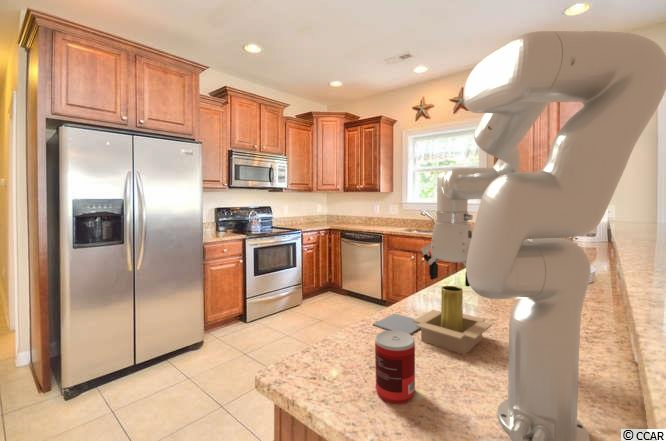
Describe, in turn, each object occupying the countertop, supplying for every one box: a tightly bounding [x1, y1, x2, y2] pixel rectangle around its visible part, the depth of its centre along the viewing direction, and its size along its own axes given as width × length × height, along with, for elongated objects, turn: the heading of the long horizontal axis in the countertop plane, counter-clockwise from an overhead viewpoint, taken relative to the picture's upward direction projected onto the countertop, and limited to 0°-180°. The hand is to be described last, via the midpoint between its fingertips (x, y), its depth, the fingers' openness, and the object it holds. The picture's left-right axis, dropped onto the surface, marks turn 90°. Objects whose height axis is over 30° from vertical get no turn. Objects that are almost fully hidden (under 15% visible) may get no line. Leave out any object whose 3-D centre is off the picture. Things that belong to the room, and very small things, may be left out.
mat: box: [372, 313, 421, 336], centre depth 97 cm, size 12×12×1 cm
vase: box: [440, 285, 464, 333], centre depth 85 cm, size 6×6×14 cm
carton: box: [413, 309, 493, 356], centre depth 85 cm, size 17×17×5 cm
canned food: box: [374, 330, 416, 405], centre depth 63 cm, size 8×8×11 cm
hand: (450, 281), depth 85 cm, fingers open, 9 cm apart
